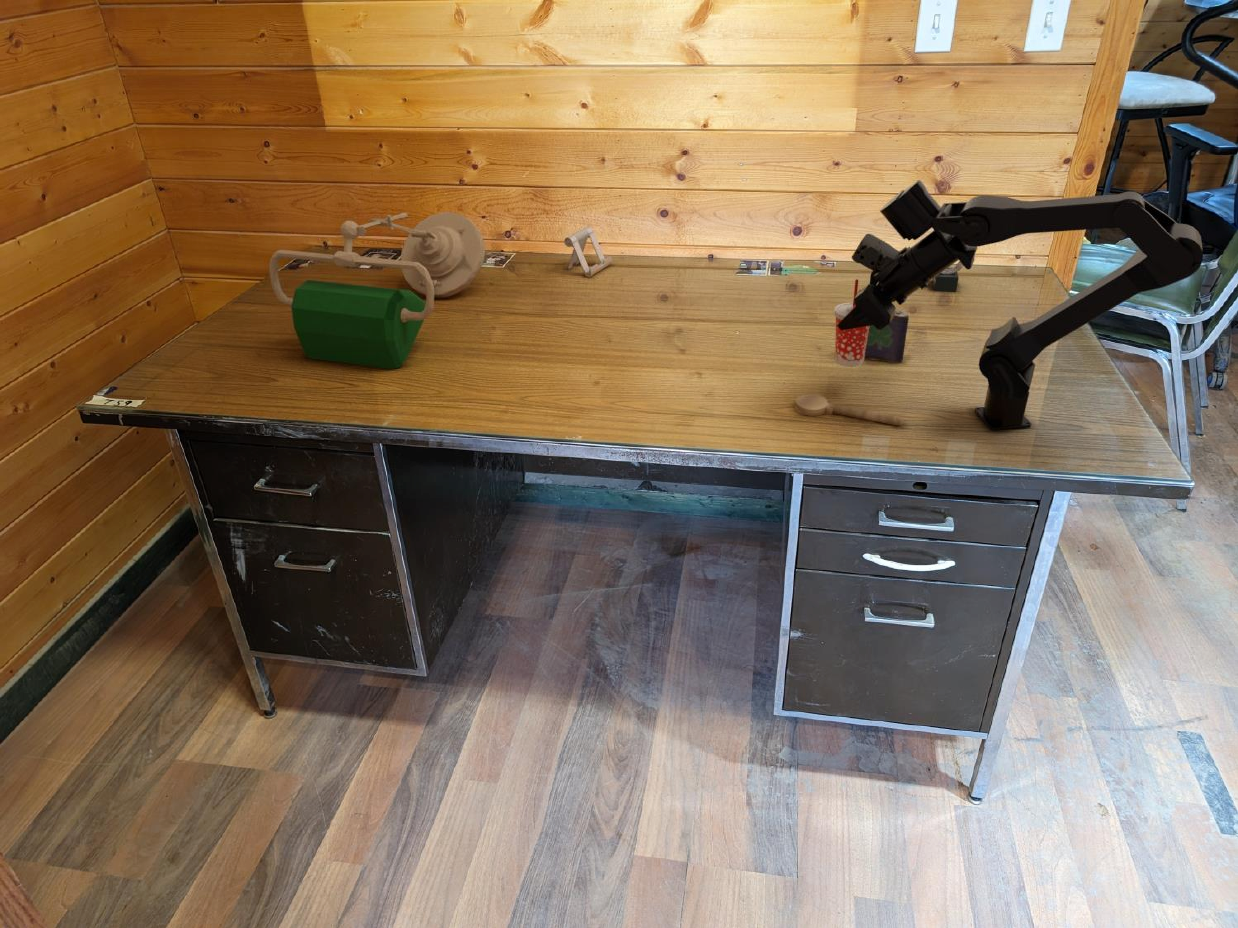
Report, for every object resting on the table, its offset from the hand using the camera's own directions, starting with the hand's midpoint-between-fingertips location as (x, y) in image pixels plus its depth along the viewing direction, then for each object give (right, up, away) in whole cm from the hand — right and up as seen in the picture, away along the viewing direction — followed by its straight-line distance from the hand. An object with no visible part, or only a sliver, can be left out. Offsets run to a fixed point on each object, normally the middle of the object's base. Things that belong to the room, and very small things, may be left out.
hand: (844, 320), depth 145 cm
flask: (+10, -4, +16) cm, 20 cm away
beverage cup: (+2, -6, +3) cm, 7 cm away
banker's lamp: (-79, +7, +40) cm, 89 cm away
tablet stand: (-44, +21, +59) cm, 76 cm away
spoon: (0, -15, 0) cm, 15 cm away
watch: (+31, +14, +43) cm, 55 cm away
